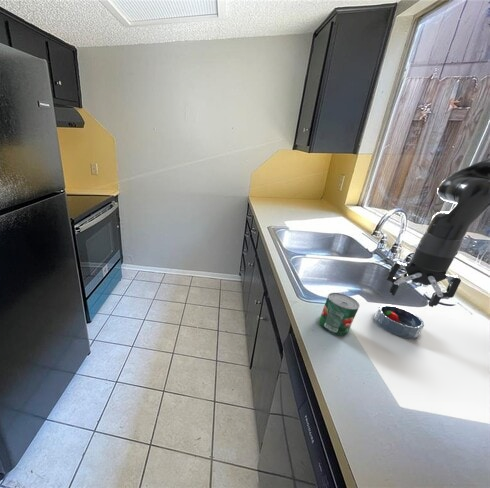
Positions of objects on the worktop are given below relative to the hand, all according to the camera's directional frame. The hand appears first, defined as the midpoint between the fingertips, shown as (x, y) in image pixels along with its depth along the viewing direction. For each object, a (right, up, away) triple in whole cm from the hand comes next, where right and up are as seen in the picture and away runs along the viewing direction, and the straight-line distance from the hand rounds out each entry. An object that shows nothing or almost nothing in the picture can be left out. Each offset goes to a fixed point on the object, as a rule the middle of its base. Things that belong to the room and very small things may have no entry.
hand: (410, 299), depth 76 cm
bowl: (-1, -10, +5) cm, 11 cm away
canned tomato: (-21, -10, +3) cm, 24 cm away
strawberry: (0, -9, +6) cm, 11 cm away
